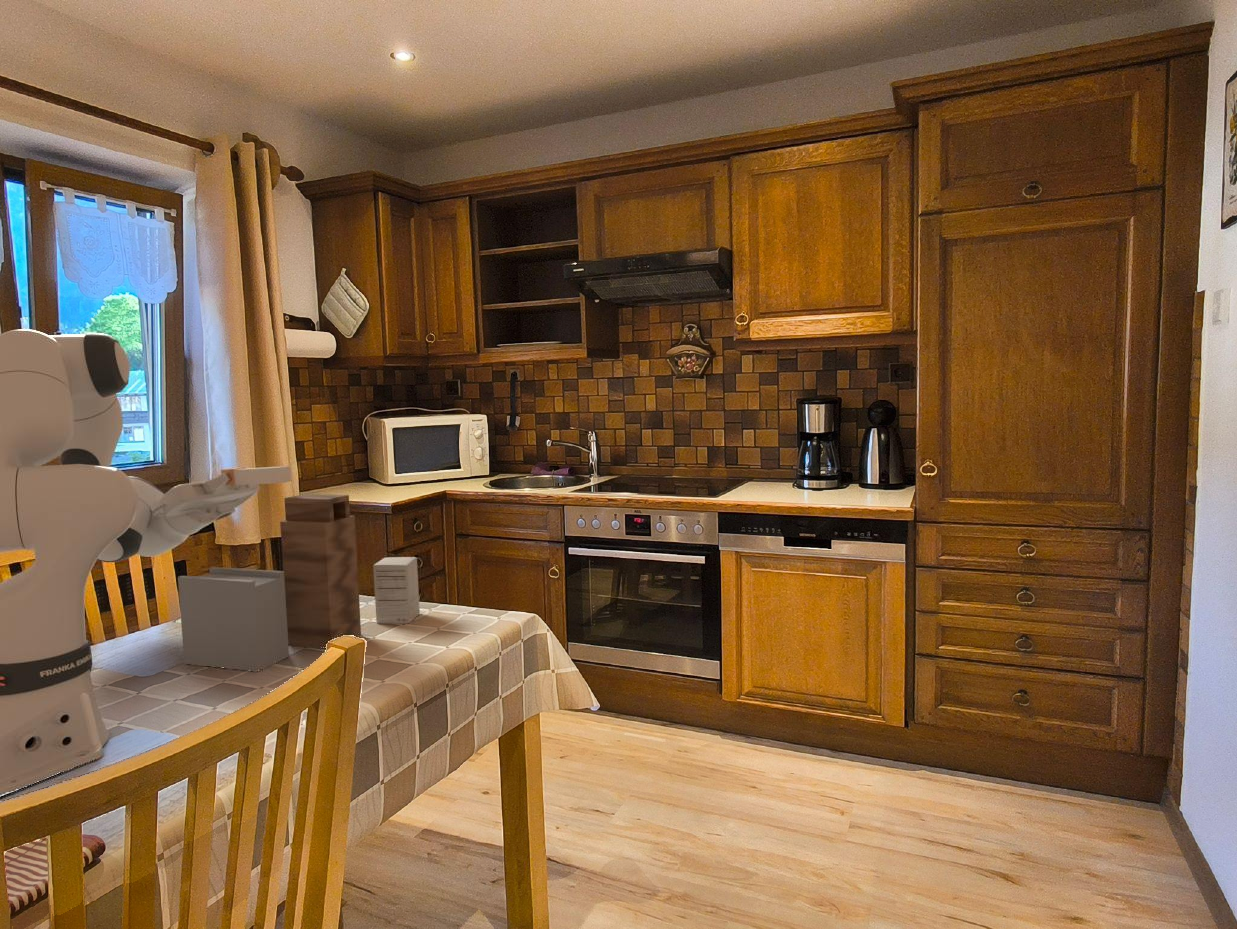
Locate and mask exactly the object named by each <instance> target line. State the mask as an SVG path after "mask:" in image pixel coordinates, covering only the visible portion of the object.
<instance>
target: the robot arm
mask: <svg viewBox="0 0 1237 929" xmlns="http://www.w3.org/2000/svg"><path fill="white" fill-rule="evenodd" d="M130 372H131V365H130V361H129V357H128V354H127V353H126V351H125V349H124V348H123V346H122V345H121V344H120V341H119V340H117V339H116V338H114V337H112V336H111V335H110V334H107V333H101V332H99V333H98V332H86V333H85V334H56V335H54V334H53V335H48V334H46V333H44V332H41V331H37V330H34V329H23V328H22V329H13V330H12V329H11V330H8V331H5V332H3V333H0V553H2V552H12V551H22V550H23V551H24V550H26V551H32V552H34V562H33V563H32V564H31V566H29V567H28V568H26V569H25V570H23V571H20V572H19V573H17V574H15V575H13V576H11V577H9V578H7V579H5V580H3V581H1V582H0V795H2V794H5V793H6V792H11V791H15V790H16V789H20V788H23V787H25V786H28V785H29V784H33V783H35V782H37V781H41V780H44V779H45V778H47V777H50V776H52V775H55V774H57V773H59V772H63V771H66V772H68V771H69V770H68V769H71V768H73V769H75V768H74V767H76V766H78V767H80V766H79V765H81V766H83V765H85V764H84V763H86V764H88V763H91V762H93V761H95V759H96V760H98V759H100V758H101V757H103V755H104V749H103V747H104V746H105V744H106V743H107V742H108V741H109V738H110V733H109V731H108V729H107V727H106V725H105V723H104V721H103V718H102V716H101V713H100V709H99V706H98V703H97V700H96V699H97V698H96V696H95V691H94V687H93V682H92V675H91V673H92V667H93V656H92V654H93V653H92V647H91V642H90V641H89V640H88V639H87V635H86V634H87V633H86V621H85V620H86V619H85V618H86V617H85V615H86V614H85V612H86V610H85V603H86V602H85V601H86V600H85V598H86V597H85V596H86V587H87V583H88V579H89V577H90V574H91V571H92V569H93V567H94V565H95V564H96V562H97V561H100V562H103V563H117V562H121V561H125V560H127V559H130V558H132V557H134V556H136V555H139V556H141V557H149V558H150V557H151V558H152V557H157V556H160V555H164V554H166V553H168V552H170V551H171V550H173V549H174V548H177V547H178V546H179V545H181V544H183V543H184V542H185V541H186V540H187V539H188V538H189V536H190V535H191V536H192V535H193V534H195V533H198V532H199V531H200V530H201V529H203V528H205V527H207V526H209V525H210V524H212V523H214V522H216V521H219V520H221V519H224V518H226V517H229V516H232V515H233V514H234V513H235V512H236V508H238V507H240V506H241V505H243V504H244V503H246V502H247V501H249V500H250V499H251V498H253V496H255V495H256V494H257V493H258V492H259V490H260V486H259V485H260V484H249V485H228V486H223V485H225V484H228V483H229V482H231V481H232V477H231V476H230V473H223V474H221V473H220V475H218V476H216V477H214V478H212V479H209V480H203V481H198V482H196V481H195V482H190V483H183V484H178V485H175V486H173V487H172V488H170V489H169V490H168V491H167V492H165V493H164V492H163V491H162V490H160V489H159V488H158V487H157V486H156V485H154V484H153V483H151V482H150V481H148V480H146V479H143V478H141V477H137V476H133V475H130V476H129V475H127V474H126V473H125V472H124V471H122V470H121V469H120V468H118V467H111V466H112V461H113V457H114V455H115V451H116V449H117V445H118V444H119V440H120V437H121V435H122V432H123V426H124V419H123V411H122V406H121V404H120V403H121V402H120V401H119V399H118V396H117V394H119V393H121V392H123V390H124V389H125V388H126V387H127V386H128V385H129V378H130ZM58 457H59V459H60V464H53V465H46V464H48V463H50V462H52V461H54V460H55V459H56V458H58ZM92 760H93V761H92ZM90 761H91V762H90ZM87 762H88V763H87ZM82 764H83V765H82ZM76 768H77V767H76ZM67 770H68V771H67ZM71 770H72V769H71ZM63 773H64V772H63ZM44 781H45V780H44ZM41 782H42V781H41Z"/></svg>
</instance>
